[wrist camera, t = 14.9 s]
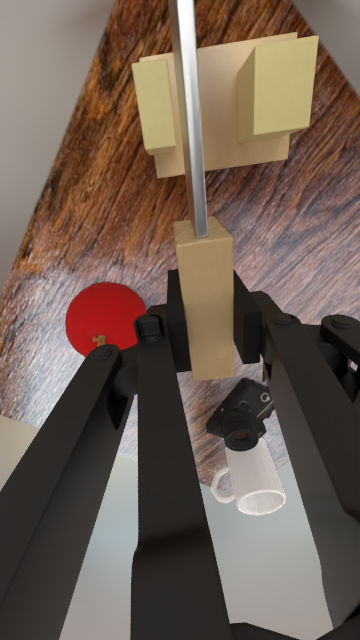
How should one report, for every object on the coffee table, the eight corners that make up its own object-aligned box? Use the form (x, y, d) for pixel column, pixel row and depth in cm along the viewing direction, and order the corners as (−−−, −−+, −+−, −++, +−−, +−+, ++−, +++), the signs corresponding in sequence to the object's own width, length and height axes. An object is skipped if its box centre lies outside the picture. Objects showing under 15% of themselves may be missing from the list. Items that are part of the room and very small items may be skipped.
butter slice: (167, 82, 17) (167, 57, 13) (174, 152, 19) (176, 145, 15) (138, 86, 17) (131, 63, 13) (149, 155, 19) (145, 150, 15)
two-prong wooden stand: (266, 67, 21) (297, 31, 16) (262, 163, 25) (288, 158, 19) (145, 86, 21) (138, 57, 16) (159, 178, 25) (157, 178, 20)
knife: (219, 328, 18) (234, 377, 14) (188, 332, 18) (193, 382, 14) (195, -188, 8) (227, -612, 4) (120, -173, 8) (64, -569, 4)
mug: (202, 440, 47) (209, 499, 38) (265, 430, 46) (287, 487, 38) (208, 464, 51) (216, 521, 42) (265, 455, 50) (286, 511, 42)
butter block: (288, 64, 17) (319, 34, 13) (283, 136, 19) (309, 126, 15) (236, 72, 17) (254, 45, 13) (237, 143, 19) (253, 135, 15)
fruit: (64, 298, 31) (24, 344, 22) (119, 257, 29) (98, 291, 20) (114, 346, 35) (96, 401, 26) (165, 313, 33) (164, 362, 24)
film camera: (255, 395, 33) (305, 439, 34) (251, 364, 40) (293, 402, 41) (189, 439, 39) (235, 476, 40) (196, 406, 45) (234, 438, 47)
